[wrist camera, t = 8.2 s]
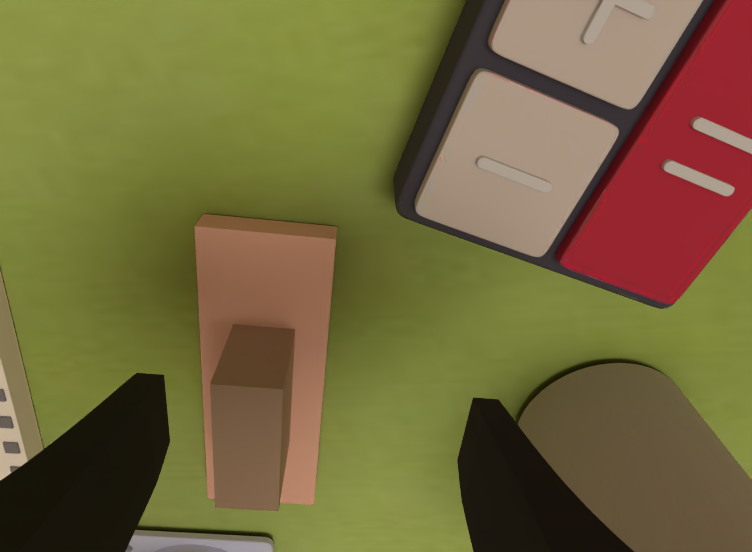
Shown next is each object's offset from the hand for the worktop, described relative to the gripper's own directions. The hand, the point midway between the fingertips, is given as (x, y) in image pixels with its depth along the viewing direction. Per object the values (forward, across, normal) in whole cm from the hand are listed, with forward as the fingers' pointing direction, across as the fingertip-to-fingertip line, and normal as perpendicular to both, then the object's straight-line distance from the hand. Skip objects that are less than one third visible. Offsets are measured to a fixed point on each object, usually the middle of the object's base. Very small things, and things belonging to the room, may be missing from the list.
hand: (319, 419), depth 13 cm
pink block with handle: (+9, +3, +6) cm, 11 cm away
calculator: (+10, -9, -8) cm, 16 cm away
